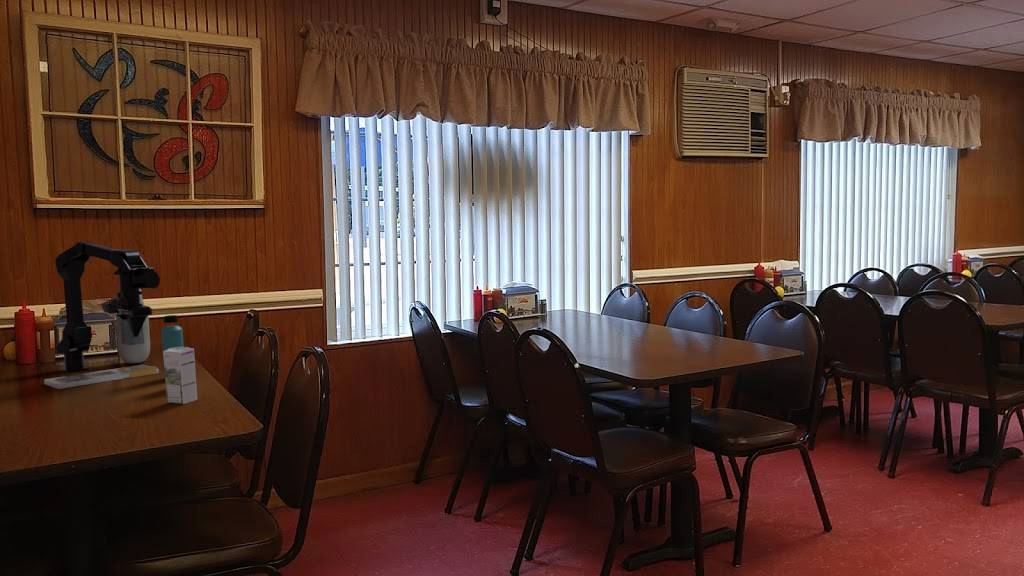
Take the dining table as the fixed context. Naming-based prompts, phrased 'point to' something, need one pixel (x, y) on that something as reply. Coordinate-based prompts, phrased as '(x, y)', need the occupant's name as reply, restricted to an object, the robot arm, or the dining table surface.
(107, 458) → the dining table surface
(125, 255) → the robot arm
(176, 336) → the beverage bottle
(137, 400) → the dining table surface
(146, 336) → the glass bottle
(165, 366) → the syrup box
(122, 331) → the steel block
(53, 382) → the white flat frame
